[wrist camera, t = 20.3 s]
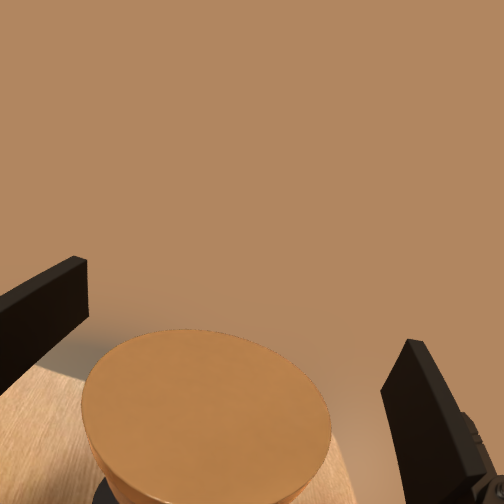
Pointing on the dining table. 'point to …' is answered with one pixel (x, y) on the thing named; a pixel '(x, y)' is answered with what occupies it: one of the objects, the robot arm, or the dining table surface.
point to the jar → (203, 421)
